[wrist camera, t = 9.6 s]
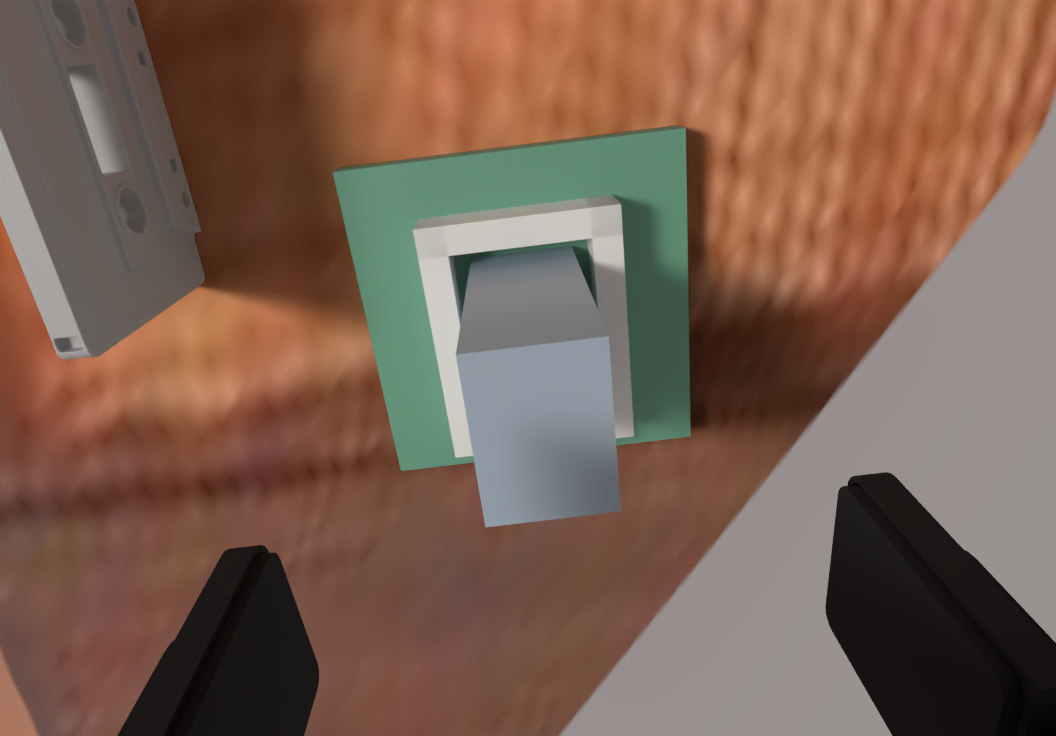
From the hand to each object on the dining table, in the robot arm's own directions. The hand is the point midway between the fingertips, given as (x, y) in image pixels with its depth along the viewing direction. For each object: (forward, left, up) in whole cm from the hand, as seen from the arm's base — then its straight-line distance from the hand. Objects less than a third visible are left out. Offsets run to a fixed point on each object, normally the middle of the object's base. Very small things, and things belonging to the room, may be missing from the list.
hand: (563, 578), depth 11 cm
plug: (+1, 0, -15) cm, 15 cm away
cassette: (-8, -12, -16) cm, 22 cm away
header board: (+1, 0, -16) cm, 16 cm away
